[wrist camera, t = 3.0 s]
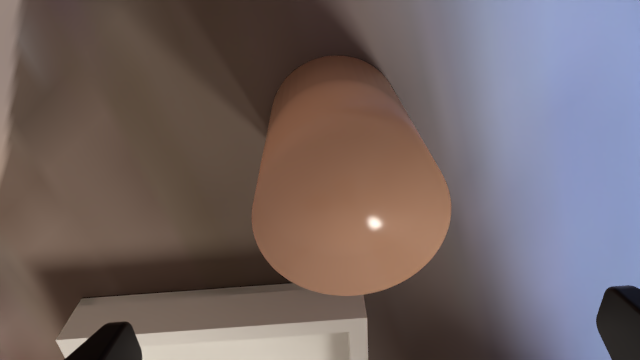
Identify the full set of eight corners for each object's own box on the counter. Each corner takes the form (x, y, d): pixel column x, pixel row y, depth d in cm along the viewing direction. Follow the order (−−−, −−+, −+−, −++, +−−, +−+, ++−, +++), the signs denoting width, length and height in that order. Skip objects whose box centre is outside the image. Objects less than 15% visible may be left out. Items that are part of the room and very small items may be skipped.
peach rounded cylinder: (400, 50, 16) (459, 121, 10) (397, 171, 18) (444, 289, 12) (262, 60, 16) (236, 138, 10) (279, 180, 18) (265, 302, 12)
